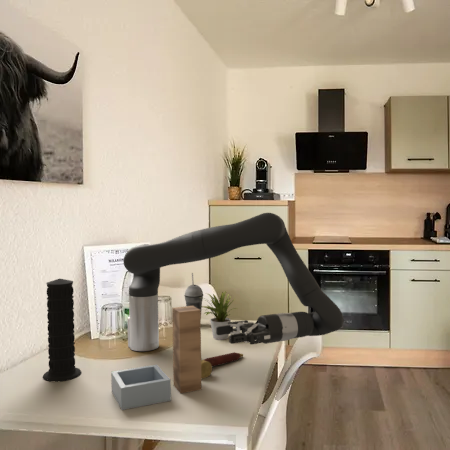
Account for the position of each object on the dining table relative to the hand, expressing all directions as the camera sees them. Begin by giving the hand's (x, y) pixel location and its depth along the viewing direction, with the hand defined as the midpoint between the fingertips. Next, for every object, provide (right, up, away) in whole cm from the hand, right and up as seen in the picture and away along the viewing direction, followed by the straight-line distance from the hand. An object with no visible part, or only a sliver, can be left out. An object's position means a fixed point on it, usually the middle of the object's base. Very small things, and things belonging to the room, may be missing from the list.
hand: (223, 335), depth 121 cm
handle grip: (-44, -12, +6) cm, 46 cm away
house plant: (-1, -10, +41) cm, 43 cm away
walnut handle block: (-9, -12, -4) cm, 16 cm away
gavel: (-2, -12, +12) cm, 18 cm away
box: (-20, -13, -9) cm, 25 cm away
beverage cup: (-11, -10, +57) cm, 59 cm away
